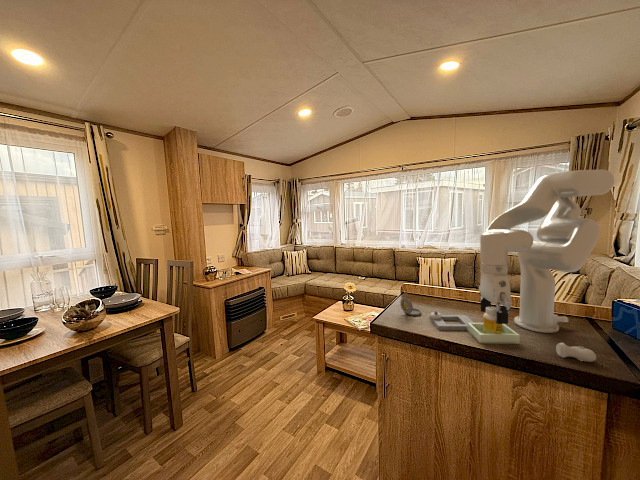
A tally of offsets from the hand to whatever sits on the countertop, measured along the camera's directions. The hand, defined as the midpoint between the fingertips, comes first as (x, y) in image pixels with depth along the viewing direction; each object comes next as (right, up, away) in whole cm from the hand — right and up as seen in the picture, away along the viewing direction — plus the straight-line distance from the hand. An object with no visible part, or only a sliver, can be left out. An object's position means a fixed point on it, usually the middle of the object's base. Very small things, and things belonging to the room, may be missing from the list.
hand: (493, 317), depth 85 cm
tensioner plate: (-8, -6, +12) cm, 15 cm away
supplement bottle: (0, -7, 0) cm, 7 cm away
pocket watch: (-20, -6, +23) cm, 31 cm away
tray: (0, -7, +1) cm, 7 cm away
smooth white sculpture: (+14, -8, -13) cm, 21 cm away
